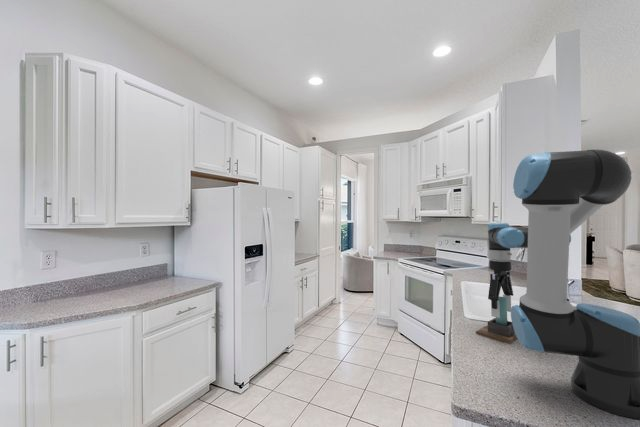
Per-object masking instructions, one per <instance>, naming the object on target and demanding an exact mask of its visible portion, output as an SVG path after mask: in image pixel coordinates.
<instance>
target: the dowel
mask: <svg viewBox="0 0 640 427" xmlns="http://www.w3.org/2000/svg"><path fill="white" fill-rule="evenodd" d="M498 301H499V306H500V318H497V317H495V318H496V324H500V325H504V326H507V321H508V311H507V298H505V297H503V296H499V298H498Z"/></svg>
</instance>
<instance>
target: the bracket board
mask: <svg viewBox="0 0 640 427" xmlns="http://www.w3.org/2000/svg"><path fill="white" fill-rule="evenodd" d="M477 334H478V335H477ZM475 335H477V336H481V337H484V338H488V339H491V340H495V341H498V342H500V343H504V344H508V345H511V344H513V342H514V341H516V340H518V338H517V336H516V334H515V331H514V328H513V325H512V321H509V320H507V326H504V325H500V324H496V317H494V318H492V319H490V320H489V321H487V324H486V325H485V326H483V327H481V328H479V329H478V330H476V331H475Z"/></svg>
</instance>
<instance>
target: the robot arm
mask: <svg viewBox="0 0 640 427" xmlns="http://www.w3.org/2000/svg"><path fill="white" fill-rule="evenodd" d="M631 180H632V170H631V168H630V165H629V163H627V161H626V160H625V159H624V158H623V157H622V156H620V155H619V154H616V153H614V152H612V151H609V150H604V149H587V150H569V151H553V152H551V151H550V152H547V151H546V152H541V153H533V154H528V155H526V156H525V157H523V158H522V160H520V162H519V164H518V166H517V167H516V170H515V173H514V178H513V183H512V184H513V193H514V196H515V197H516V198H518V199H520V200H521V204H522V206H523V207H525V208H526V209H527V210H528V216H527V217H528V223H527V224H528V225H527V226H528V227H511V226H510V224H509V223H507V222H495V223H493V222H491V223H489V224H488V226H487V228H488V229H487V235H488V236H487V238H488V259H489V264H488V266H489V269H490V270H491V271H493V273H490V275H489V276H490V277H489V278H490V279H489V280H490V281H489V287H488V288H489V289H488V295H487V296H488V297H487V299H488V300H490V307H491V308H490V310H491V311H490V313H491V317H494V318H496V317H497V318H500V306H499V301H498V298H499V297H500V293H501V290H502V292H503V294H502V297H505V298H507V313H508V312H510V319H511V322H512V325H513V328H514V331H515V334H516V336H517V340H518V342H519V343H520V345H521V346H522V347H523V348H524V349H526V350H529V351H532V352H533V351H534V352H539V353H542V354H545V353H548V354H555V355H556V354H558V355H567V356H576V357H578V360H577V361H578V362H577V364H576V367H575V369H574V372H572V376H571V377H570V388H571V391H572V392H573V393H574V394H575V395H576V396H577V397H579V399H582V400H583V401H584V402H587V403H588V404H590V405H591V406H594V407H596V408H598V409H601V410H603V411H606V412H608V413H612V414H614V415H618V416H622V417H626V418H631V419H636V418H640V321H639V320H638V319H637V317H635V316H633V315H631V314H629V313H626V312H623V311H620V310H617V309H613V308H610V307H605V306H600V305H594V304H591V303H576V304H577V306H576V309H577V310H574V307H573V305H571V304H570V303H571V302H569V301H568V280H569V261H570V260H569V259H570V258H569V257H570V245H571V241H572V236H571V234H573V232H574V231H575V230H577V229H578V228H579V227H580V226H581V225H582V224H584V223H585V222H586V221H587V220H588V219H589V218H590V217H592V216H593V215H594V214H595V213H596V212H597V211H599V210H600V209H601V208H602V207H603V206H607V205H610V204H612V203H614V202H617V201H618V199H620V198H621V197H622V196H623V195H624V194H625V193H626V191H627V190H628V188H629V187H630V185H631V182H632V181H631ZM511 249H527V252H526V253H527V256H526V259H527V260H526V261H527V263H526V290H525V291H526V292H525V294H523V295H522V296H520V297H519V305H518V304H515V305H512V297H514V290H513V286H512V281H511V273H510V271H512V263H511V260H512V259H511V256H512V255H513V254H512V252H511Z"/></svg>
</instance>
